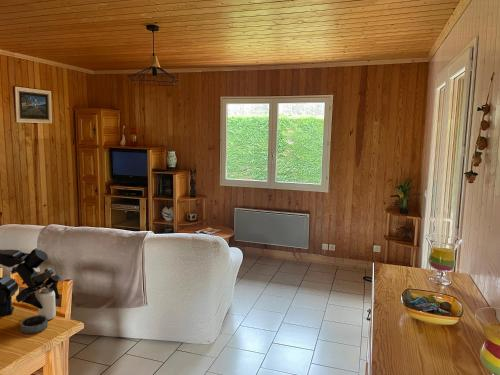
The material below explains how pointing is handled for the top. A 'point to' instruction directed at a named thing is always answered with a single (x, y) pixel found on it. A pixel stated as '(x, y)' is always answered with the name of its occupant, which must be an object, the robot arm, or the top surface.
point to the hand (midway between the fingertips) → (50, 303)
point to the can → (47, 303)
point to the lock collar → (34, 324)
